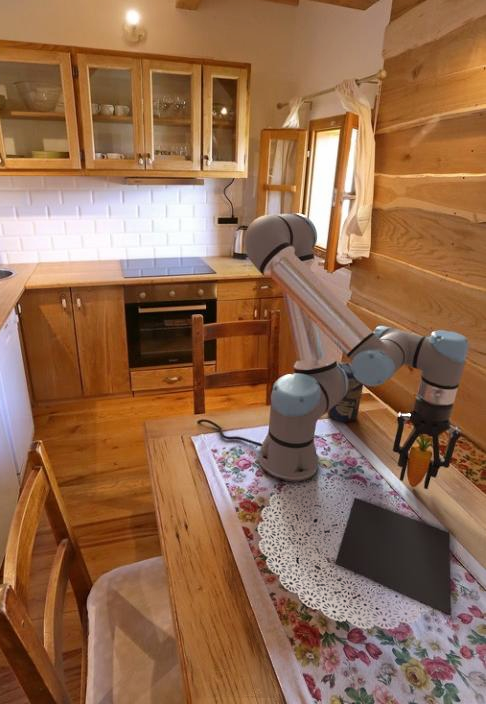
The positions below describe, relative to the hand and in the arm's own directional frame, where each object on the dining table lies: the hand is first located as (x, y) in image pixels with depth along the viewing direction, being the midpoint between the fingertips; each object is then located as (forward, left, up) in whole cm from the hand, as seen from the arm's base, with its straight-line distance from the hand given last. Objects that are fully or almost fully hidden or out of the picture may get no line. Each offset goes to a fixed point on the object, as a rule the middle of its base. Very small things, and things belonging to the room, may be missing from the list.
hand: (413, 481), depth 99 cm
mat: (-2, -21, -2) cm, 21 cm away
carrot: (0, 0, -2) cm, 2 cm away
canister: (-22, +24, -2) cm, 33 cm away
